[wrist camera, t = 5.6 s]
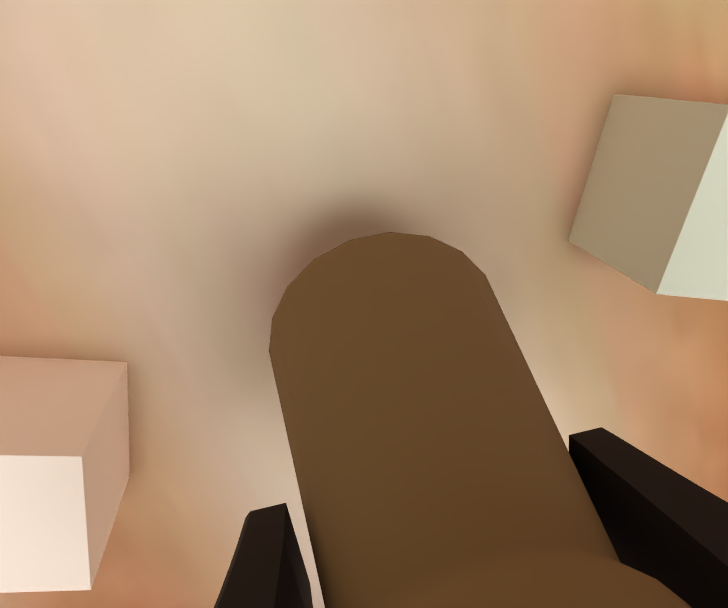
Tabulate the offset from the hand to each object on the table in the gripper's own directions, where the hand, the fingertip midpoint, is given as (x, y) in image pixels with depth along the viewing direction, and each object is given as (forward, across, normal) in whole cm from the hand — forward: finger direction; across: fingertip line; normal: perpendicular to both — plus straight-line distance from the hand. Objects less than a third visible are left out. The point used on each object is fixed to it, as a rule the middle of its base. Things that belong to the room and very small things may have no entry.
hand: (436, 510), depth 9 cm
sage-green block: (+10, -11, -2) cm, 15 cm away
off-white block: (+10, +11, +3) cm, 16 cm away
